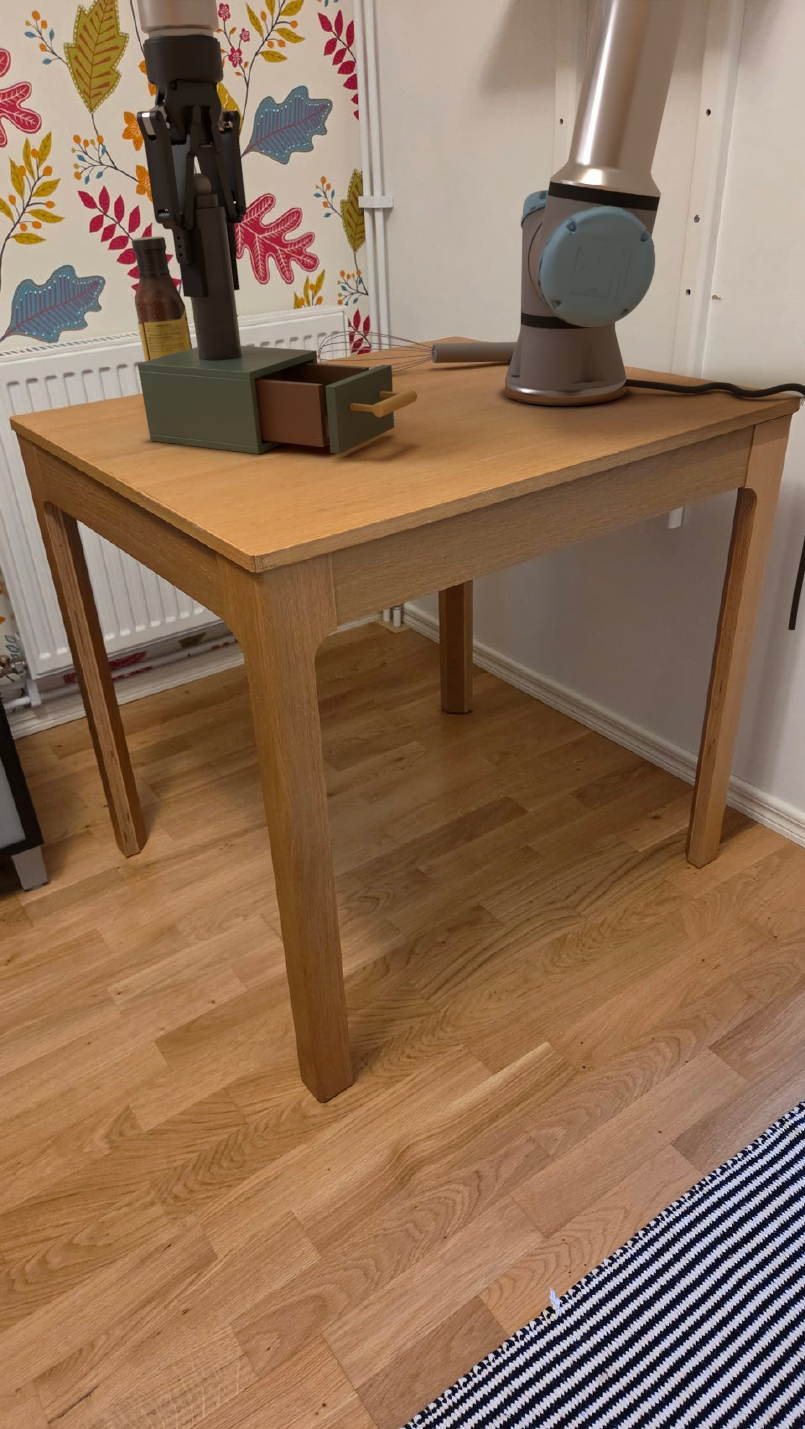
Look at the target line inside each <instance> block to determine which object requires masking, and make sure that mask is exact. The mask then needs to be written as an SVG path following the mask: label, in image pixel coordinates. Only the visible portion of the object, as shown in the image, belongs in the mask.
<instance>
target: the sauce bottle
mask: <svg viewBox="0 0 805 1429" xmlns="http://www.w3.org/2000/svg"><path fill="white" fill-rule="evenodd" d="M131 246H132V251H133V253H134V254H135V260H136V265H137V270H138V271H137V272H138V273H137V275H138V278H139V280H138V286H137V289H136V292H135V295H134V305H135V306H134V307H135V311H136V315H137V320H138V322H137V326H138V330H139V336H140V341H141V347H142V351H143V356H144V362H145V361H148V360H152V359H156V358H159V357H163V356H167V355H170V354H174V353H178V352H181V351H185V350H188V349H192V348H193V345H192V338H191V332H190V327H189V321H188V315H187V314H188V313H187V309H186V305H185V303H184V301H183V298H182V296H181V294H180V292H179V290H178V288H177V286H176V284H175V281H174V279H173V278H172V275H171V273H170V272H171V271H170V269H169V263H168V257H167V252H166V250H167V244H166V239H165V237H164V236H161V235H160V236H159V235H158V236H144V237H137V238H133V239H131Z"/></svg>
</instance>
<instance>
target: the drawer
mask: <svg viewBox="0 0 805 1429" xmlns="http://www.w3.org/2000/svg"><path fill="white" fill-rule="evenodd" d="M377 366H378V367H372V368H369V367H370V366H362V365H361V366H359V365H348V364H347V365H345V364H331V363H327V364H325V363H322V364H320V362H319V363H318V362H317V363H305V362H303V363H300V364H297V365H294V366H291V367H288V368H285V369H282V370H279V371H276V372H273V373H270V374H267V375H264V376H261V377H258V378H255V387H256V396H257V405H258V414H259V423H260V432H261V440H267V441H275V442H284V443H283V444H293V445H302V446H311V447H320V448H324V447H327V446H329V449H330V453H331V454H338V455H341V454H342V453H343V454H344V453H345V452H347V451H349V450H351V449H353V448H356V447H357V446H359V445H361V444H363V443H366V442H367V441H369V440H372V439H374V438H376V437H379V436H380V435H382V434H384V433H387V432H388V431H392V430H393V429H394V428H395V414H394V412H395V411H397V410H400V409H402V408H404V407H406V406H409V405H412V404H413V403H415V402H417V399H418V393H417V392H416V390H414V389H412V388H410V389H409V388H408V389H407V390H405V391H404V390H403V391H402V392H397V391H393V388H394V387H393V373H392V372H393V370H392V369H393V367H392V366H393V365H389V364H381V365H377Z"/></svg>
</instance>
